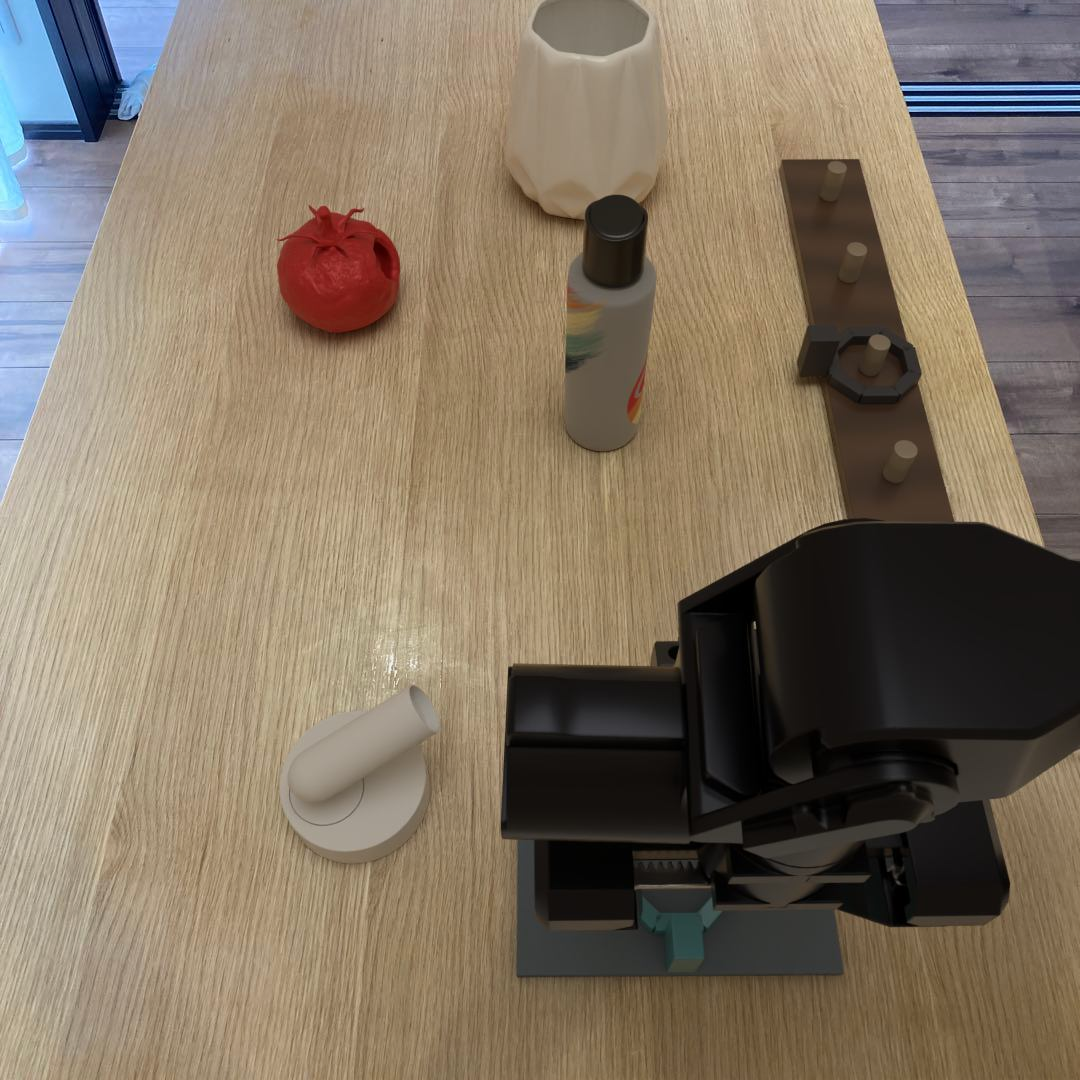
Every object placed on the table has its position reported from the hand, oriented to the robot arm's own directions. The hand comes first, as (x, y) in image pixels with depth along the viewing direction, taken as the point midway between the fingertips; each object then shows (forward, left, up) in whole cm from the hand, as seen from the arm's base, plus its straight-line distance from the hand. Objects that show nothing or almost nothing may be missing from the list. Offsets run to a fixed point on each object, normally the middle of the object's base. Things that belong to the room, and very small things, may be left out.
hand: (731, 894), depth 50 cm
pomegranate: (+44, -35, -11) cm, 57 cm away
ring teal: (+3, -3, -10) cm, 10 cm away
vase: (+32, -57, -11) cm, 66 cm away
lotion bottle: (+20, -32, -11) cm, 39 cm away
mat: (+2, -2, -10) cm, 11 cm away
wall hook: (+22, 0, -11) cm, 24 cm away
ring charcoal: (+2, -44, -9) cm, 45 cm away
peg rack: (+5, -49, -10) cm, 50 cm away
